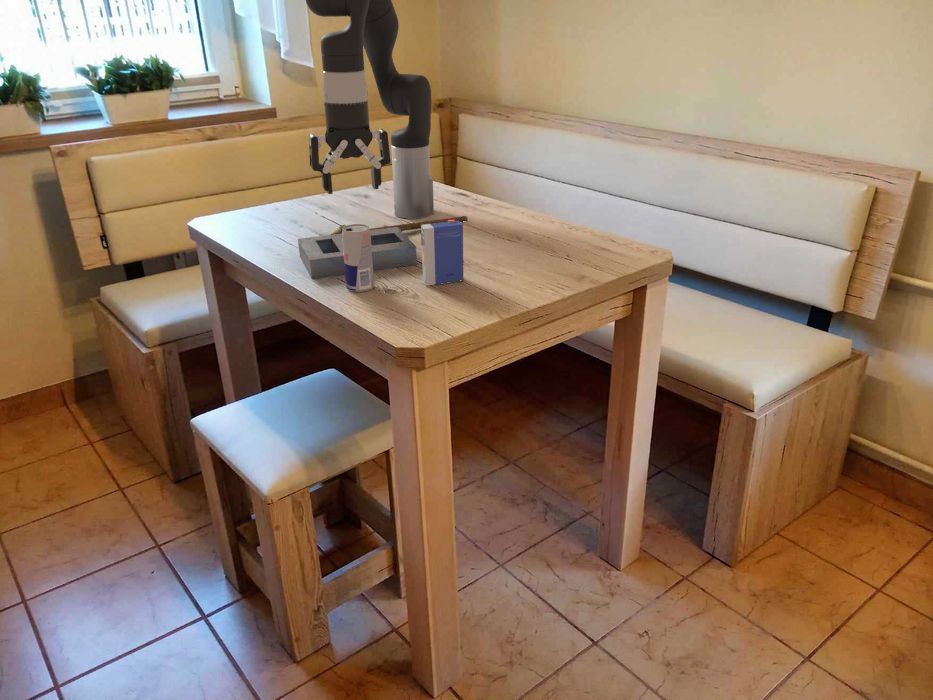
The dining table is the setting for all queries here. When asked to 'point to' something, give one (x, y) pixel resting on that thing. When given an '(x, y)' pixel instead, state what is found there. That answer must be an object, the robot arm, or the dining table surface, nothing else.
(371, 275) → the energy drink
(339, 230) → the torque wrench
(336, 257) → the socket plate
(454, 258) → the walkman
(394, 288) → the dining table surface
